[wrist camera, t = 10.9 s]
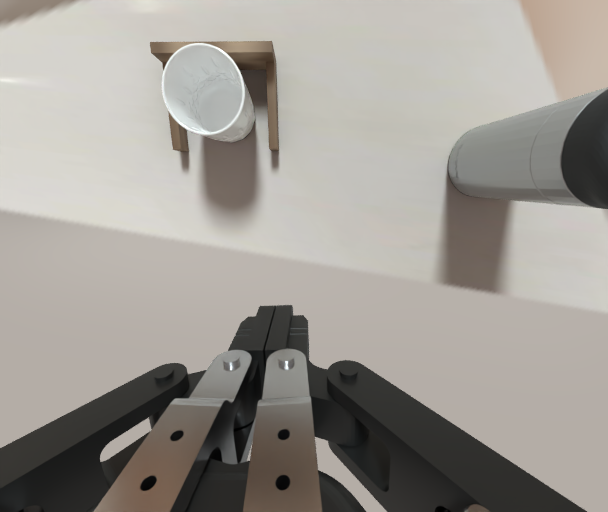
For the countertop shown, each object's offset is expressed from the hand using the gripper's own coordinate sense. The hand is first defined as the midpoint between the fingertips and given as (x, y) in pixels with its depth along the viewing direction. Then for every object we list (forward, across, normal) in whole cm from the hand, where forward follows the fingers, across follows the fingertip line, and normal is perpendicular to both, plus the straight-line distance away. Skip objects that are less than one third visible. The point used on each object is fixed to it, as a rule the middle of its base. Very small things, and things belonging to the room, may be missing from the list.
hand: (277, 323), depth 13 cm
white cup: (+28, +8, -15) cm, 33 cm away
